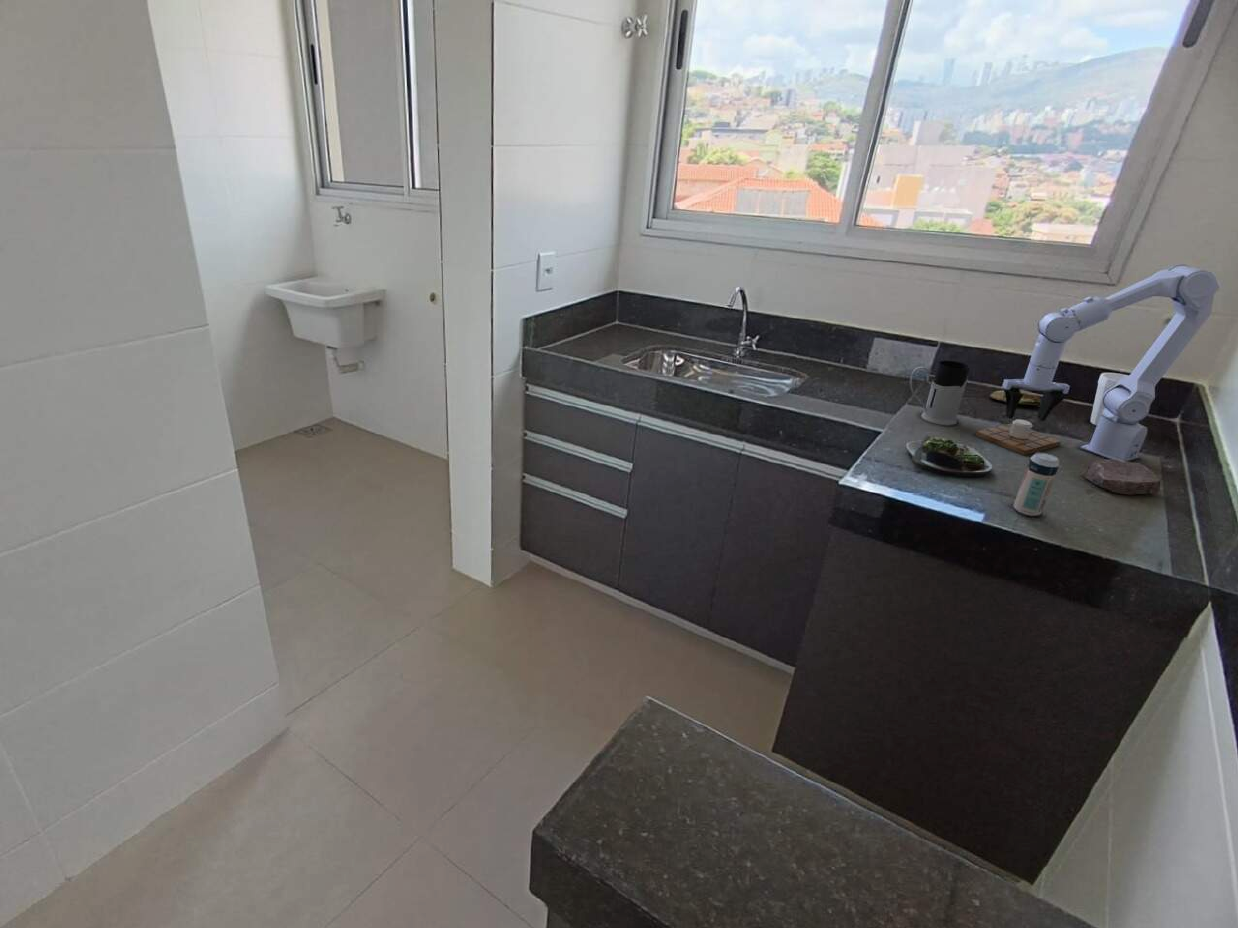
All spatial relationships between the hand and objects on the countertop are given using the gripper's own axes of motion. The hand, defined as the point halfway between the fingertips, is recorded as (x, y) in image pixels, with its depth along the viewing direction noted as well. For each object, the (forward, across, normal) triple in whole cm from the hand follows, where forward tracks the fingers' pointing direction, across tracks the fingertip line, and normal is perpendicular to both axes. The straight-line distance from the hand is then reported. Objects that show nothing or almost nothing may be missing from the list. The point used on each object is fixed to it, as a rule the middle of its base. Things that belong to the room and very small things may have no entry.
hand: (1024, 418), depth 161 cm
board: (+6, 0, 0) cm, 6 cm away
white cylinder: (+5, 0, 0) cm, 5 cm away
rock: (+6, -14, -31) cm, 35 cm away
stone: (+6, -11, +23) cm, 27 cm away
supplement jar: (+6, +16, +38) cm, 42 cm away
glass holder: (+6, +18, -12) cm, 22 cm away
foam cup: (+6, -31, -17) cm, 36 cm away
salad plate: (+6, +24, +17) cm, 30 cm away
